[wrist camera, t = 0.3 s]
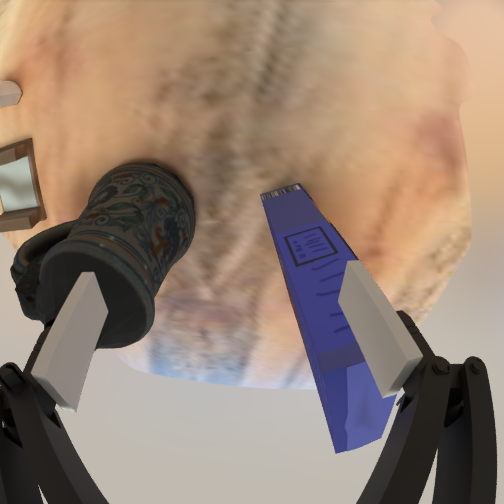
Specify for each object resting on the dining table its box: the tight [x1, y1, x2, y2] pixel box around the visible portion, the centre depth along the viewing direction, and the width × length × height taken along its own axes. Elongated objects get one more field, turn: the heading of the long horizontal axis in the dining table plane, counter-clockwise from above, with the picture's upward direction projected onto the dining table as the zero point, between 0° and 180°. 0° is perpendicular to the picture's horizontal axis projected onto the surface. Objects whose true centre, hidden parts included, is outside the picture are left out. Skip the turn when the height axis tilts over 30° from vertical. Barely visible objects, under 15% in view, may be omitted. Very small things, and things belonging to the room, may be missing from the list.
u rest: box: [0, 138, 47, 232], centre depth 31 cm, size 14×10×5 cm
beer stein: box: [10, 163, 195, 351], centre depth 29 cm, size 16×19×25 cm
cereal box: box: [260, 184, 397, 453], centre depth 33 cm, size 22×6×30 cm, turn 16°
